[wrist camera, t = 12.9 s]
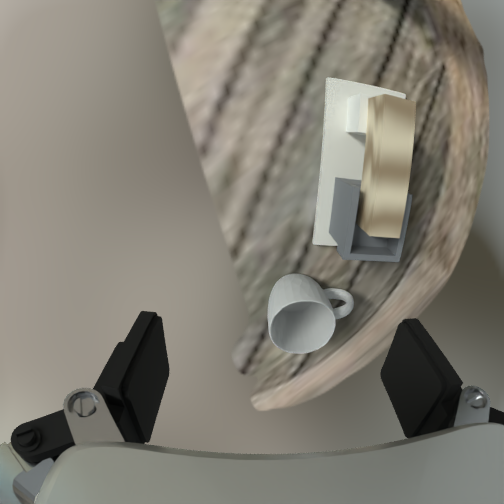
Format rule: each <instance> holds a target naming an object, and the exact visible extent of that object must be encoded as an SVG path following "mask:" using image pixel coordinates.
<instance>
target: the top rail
mask: <svg viewBox="0 0 504 504" xmlns="http://www.w3.org/2000/svg"><path fill="white" fill-rule="evenodd" d="M415 113H416V102H414V101H411V100H407V99H403V98H400V97H396V96H392V95H388V94H382V95H378V96H375V97H371V98H368V113H367V128H366V141H365V152H364V163H363V172H362V181H361V189H360V197H359V204H358V212H357V218H356V224H357V225H358V226H359V227H360V228H361V229H363V230H364V231H365V232H366V233H367V234H368V235H369V236H376V237H389V238H400V233H401V228H402V222H403V217H404V211H405V205H406V199H407V193H408V186H409V179H410V171H411V162H412V153H413V142H414V130H415Z"/></svg>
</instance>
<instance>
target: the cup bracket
mask: <svg viewBox="0 0 504 504" xmlns="http://www.w3.org/2000/svg"><path fill="white" fill-rule="evenodd" d="M382 94H388V95H392V96H396V97H400V98H403V99H405V97H406V94H403V93H400V92H396V91H392V90H388V89H384V88H380V87H376V86H371V85H367V84H362V83H357V82H352V81H347V80H341V79H335V78H329V77H328V78H326V93H325V112H324V128H323V142H322V155H321V166H320V177H319V188H318V198H317V207H316V216H315V225H314V233H313V241H312V243H313V244H314V245H329V246H337V252H338V253H339V254H340V256H341V257H342V259H343V260H365V261H387V262H399V261H400V257H401V253H402V248H403V244H404V239H405V234H406V229H407V224H408V219H409V213H410V208H411V202H412V195H411V194H409V193H407V199H406V205H405V211H404V217H403V222H402V228H401V233H400V238H389V237H376V236H369V235H368V234H367V233H366V232H365V231H364V230H363V229H361V228H360V227H359V226H358V225H357V224H356V218H357V212H358V204H359V197H360V189H361V181H362V172H363V163H364V152H365V141H366V128H367V113H368V98H371V97H375V96H378V95H382Z"/></svg>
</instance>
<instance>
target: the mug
mask: <svg viewBox="0 0 504 504" xmlns="http://www.w3.org/2000/svg"><path fill="white" fill-rule="evenodd" d="M329 299H339V300H343V301H345V302H346V304H345V305H343V306H341V307H338V308H332V305H331V303H330V301H329ZM353 306H354V300H353V297H352V295H351V294H350V293H349V292H347V291H345V290H342V289H337V288H329V289H324V290H323V289H322V288H321V287H320V285H319V284H318V283H317V282H316V281H314V280H313V279H312V278H310V277H309V276H306V275H303V274H289V275H286V276H284V277H282V278H281V279H279V280H278V281H277V282H276V284H275V285H274V287H273V289H272V292H271V294H270V298H269V304H268V327H269V334H270V337H271V340H272V342H273V343H274V344H275V345H276V346H277V347H278V348H280V349H281V350H283V351H286V352H289V353H299V354H301V353H308V352H312V351H315V350H317V349H319V348H321V347H322V346H324V345H325V344H326V343H327V342H328V341H329V339H330V338H331V337H332V335H333V332H334V329H335V325H336V321H335V319H340V318H342V317H345V316H347V315H348V314H349V313H350V312H351V311H352V309H353Z"/></svg>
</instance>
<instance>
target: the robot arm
mask: <svg viewBox="0 0 504 504" xmlns="http://www.w3.org/2000/svg"><path fill="white" fill-rule="evenodd" d="M168 377H169V363H168V357H167V351H166V344H165V338H164V330H163V323H162V318H161V317H159V316H157V313H156V312H147V311H141V312H140V314H139V316H138V318H137V319H136V321H135V323H134V325H133V326H132V328H131V330H130V332H129V334H128V335H127V337H126V339H125V341H124V342H119V343H118V344H117V346H116V347H115V349H114V351H113V353H112V355H111V356H110V358H109V360H108V362H107V364H106V366H105V367H104V369H103V371H102V373H101V375H100V377H99V379H98V381H97V382H96V384H95V386H94V388H93V389H90V388H80V389H76V390H74V391H72V392H71V393H70V394H68V395H67V397H66V398H65V400H64V404H63V408H64V409H63V410H60V411H58V412H55V413H52V414H49V415H46V416H44V417H41V418H38V419H35V420H32V421H30V422H26V423H23V424H21V425H19V426H18V427H17V428H16V429H14V431H13V433H12V436H11V442H10V443H9V444H6V442H4V443H2V444H1V445H0V504H34V500H35V496H36V495H37V494H38V493H39V494H38V496H37V499H36V502H35V504H504V412H501V411H498V410H496V409H494V408H491V407H490V398H489V397H488V394H487V393H486V392H485V391H484V390H483V389H481V388H479V387H477V386H467V387H465V388H464V389H463V390H462V388H461V385H462V384H463V382H462V380H461V379H460V378H459V376H458V375H457V373H456V371H455V370H454V369H453V367H452V366H451V365H450V363H449V361H448V360H447V358H446V357H445V356H444V354H443V353H442V351H441V350H440V349H439V347H438V346H437V345H436V343H435V342H434V340H433V339H432V337H431V336H430V335H429V333H428V332H427V331H426V329H425V328H424V327H423V325H422V324H421V323H420V321H419V320H418V319H416V318H414V319H404V320H403V321H402V323H400V324H399V325H398V328H397V331H396V333H395V336H394V339H393V342H392V344H391V347H390V349H389V352H388V355H387V357H386V360H385V362H384V365H383V367H382V369H381V379H382V382H383V384H384V386H385V389H386V391H387V393H388V395H389V397H390V400H391V402H392V405H393V407H394V409H395V412H396V414H397V417H398V419H399V421H400V424H401V426H402V429H403V431H404V434H405V436H406V437H407V438H408V439H404V440H399V441H394V442H389V443H384V444H379V445H372V446H366V447H360V448H352V449H345V450H336V451H326V452H314V453H298V454H234V453H218V452H206V451H194V450H185V449H176V448H169V447H162V446H154V445H146V444H144V443H145V442H147V443H148V442H149V441H150V438H151V434H152V431H153V427H154V424H155V420H156V417H157V413H158V410H159V407H160V403H161V400H162V397H163V393H164V390H165V387H166V383H167V380H168Z"/></svg>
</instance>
